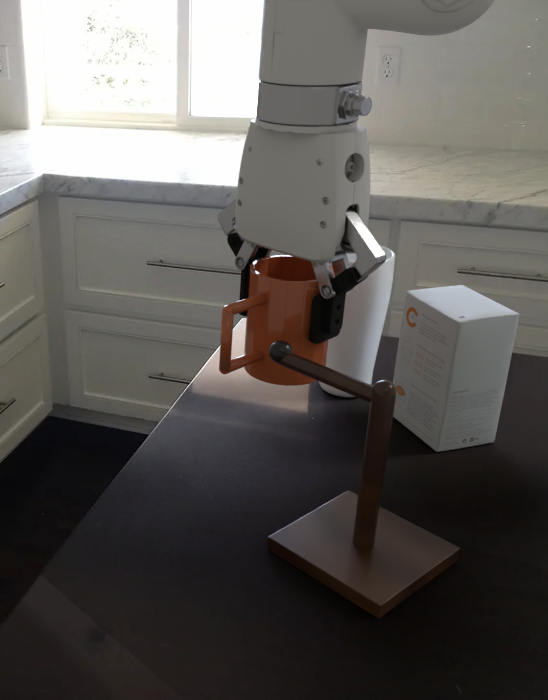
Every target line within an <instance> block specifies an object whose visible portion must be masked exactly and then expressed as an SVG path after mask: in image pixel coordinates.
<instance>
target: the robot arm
mask: <svg viewBox="0 0 548 700" xmlns="http://www.w3.org/2000/svg"><path fill="white" fill-rule="evenodd" d="M495 1H496V0H262V1H261V2H262V3H261V20H260V33H259V34H260V35H259V48H258V49H259V50H258V51H259V52H258V69H257V81H256V82H257V83H256V97H255V110H254V111H255V112H254V114H255V115H254V118H253V119H251V120H250V121H249V125H248V128H247V132H246V136H245V140H244V145H243V147H242V148H243V149H242V155H241V158H240V159H241V160H240V165H239V171H238V179H237V180H238V181H237V188H236V196H235V199H233V201H232V202H230V203H229V204H228V205H227V206H226V207H225V208H224V209H222V210H221V211H220V212H219V213H218V214H217V221H218V224H219V225H220V227H221V229H222V231H223V233H224V235H225V237H226V236H227V237H226V241H227V244H228V246H229V248H230V250H231V251H232V253H233V255H234V257H235V259H234V265H235V267H236V269H237V270H240V283H239V285H240V286H239V298H238V299H239V300H238V301H240V300H243V299H246V298H248V287H249V272H250V264H252V263H253V262H254V261H255V260H257V259H261V258H264V257H268V256H271V253H272V251H274V252H277V253H280V254H283V255H290V256H294V257H297V258H300V259H304V260H307V261H311V262H312V266H313V269H314V273H315V277H316V280H317V284H318V287H319V291H320V294H319V295H316V296H314V297H313V300H312V309H311V319H310V330H309V340H310V342H312V343H314V344H319V343H321V342H324V341H326V340H329V339H331V338H334V337H336V336H338V335H339V333H340V330H341V328H342V324H343V316H344V307H345V298H346V292H348V291H351V290H352V289H353V288H354V287H355V286H356V285H358V284H359V283H361V282H362V281H363V280H365V279H366V278H367V277H368V275H369V274H371V273H372V272H374V271H375V270H376V269H377V268H379V267H380V266H381V265H382V264H383V263H384V262H385V261H386V254H385V253H384V251H383V250H382V248H381V247H380V246H379V245H380V244H379V243H378V241H377V240H376V238H375V237H374V236H373V234H372V232H371V231H370V230H369V221H370V208H371V207H370V203H371V155H370V144H369V143H370V142H369V136H368V130H367V129H368V128H367V127H366V126H361V125H358V121H359V118H360V117H366V116H368V115H369V114H370V113H371V110H372V107H373V101H372V98H371V97H369V96H364V95H363V94H362V89H363V84H362V83H363V81H362V80H363V76H364V67H365V57H366V48H367V39H368V30H380V31H388V32H395V33H403V34H409V35H417V36H428V37H429V36H430V37H432V36H443V35H448V34H451V33H454V32H458V31H460V30H462V29H464V28H466V27H468V26H470V25H472V24H473V23H475V22H476V21H478V20H479V19H480V18H481V17H482V16H483V15H484V14H485V13H486V12H487V11H488V10H489V9H490V7H492V5H493V4H494V2H495ZM346 253H356V255H357V259H356V261H355V262H354V263H353V265H351V266H349V262H348V259H347V255H346ZM329 263H332V267H333V271H334V274H335V277H334V278H333V275H332V271H331V268H330V264H329ZM238 314H239V315H240V316H242V317H247V310H246V311H243V312H241V313H238Z"/></svg>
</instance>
